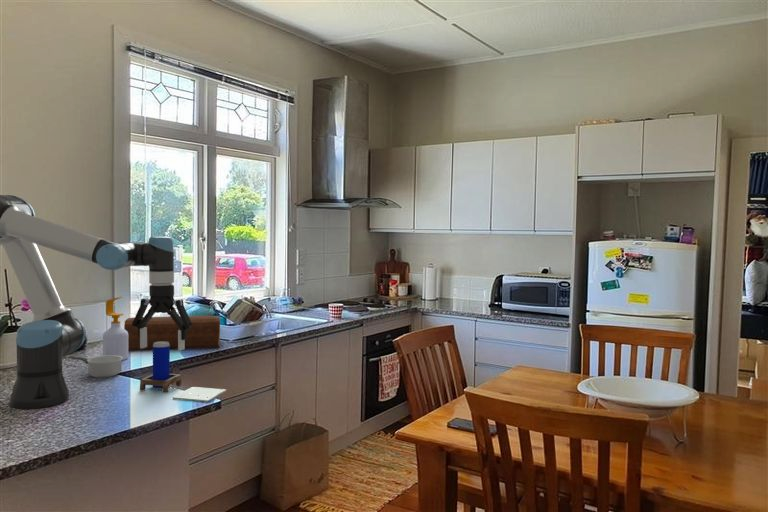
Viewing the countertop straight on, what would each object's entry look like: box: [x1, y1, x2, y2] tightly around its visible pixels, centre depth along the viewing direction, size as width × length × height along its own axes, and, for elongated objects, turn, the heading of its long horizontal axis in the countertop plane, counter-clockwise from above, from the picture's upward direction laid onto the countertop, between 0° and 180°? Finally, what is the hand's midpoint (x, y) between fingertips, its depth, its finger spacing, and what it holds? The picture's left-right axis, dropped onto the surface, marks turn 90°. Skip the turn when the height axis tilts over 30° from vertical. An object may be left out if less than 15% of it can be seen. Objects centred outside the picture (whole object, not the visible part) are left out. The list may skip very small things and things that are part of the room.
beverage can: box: [152, 341, 171, 390], centre depth 187 cm, size 5×5×15 cm
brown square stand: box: [139, 373, 182, 393], centre depth 187 cm, size 9×9×4 cm
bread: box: [123, 315, 221, 351], centre depth 251 cm, size 16×39×13 cm, turn 106°
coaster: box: [171, 386, 227, 403], centre depth 180 cm, size 12×12×1 cm
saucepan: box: [68, 355, 123, 378], centre depth 203 cm, size 12×20×6 cm, turn 78°
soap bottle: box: [102, 296, 129, 361], centre depth 224 cm, size 9×9×25 cm
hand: (162, 348), depth 187 cm, fingers open, 13 cm apart
